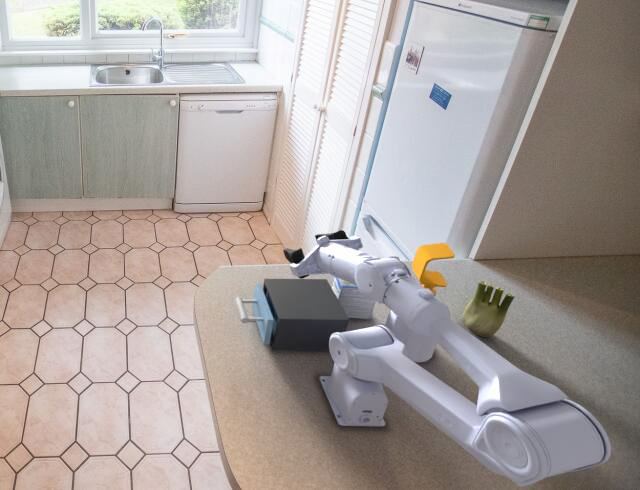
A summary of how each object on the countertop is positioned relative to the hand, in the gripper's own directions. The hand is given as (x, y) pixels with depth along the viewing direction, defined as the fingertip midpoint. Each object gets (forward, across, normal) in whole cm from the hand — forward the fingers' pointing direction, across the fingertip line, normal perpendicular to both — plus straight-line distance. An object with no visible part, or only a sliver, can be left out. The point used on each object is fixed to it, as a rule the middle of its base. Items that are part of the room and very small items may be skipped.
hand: (301, 246), depth 93 cm
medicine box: (+5, -8, +21) cm, 23 cm away
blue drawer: (+4, +10, +15) cm, 18 cm away
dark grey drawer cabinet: (+3, +5, +18) cm, 19 cm away
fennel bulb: (-4, -30, +31) cm, 43 cm away
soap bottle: (-4, -13, +26) cm, 30 cm away
